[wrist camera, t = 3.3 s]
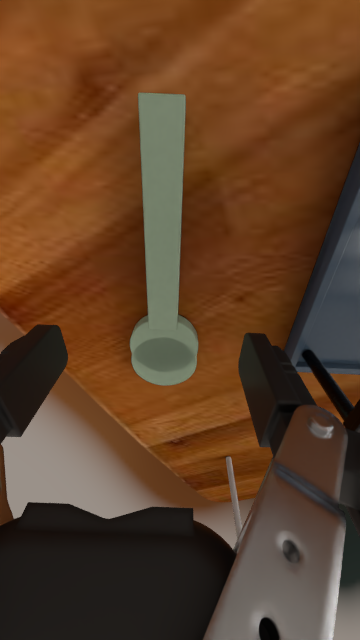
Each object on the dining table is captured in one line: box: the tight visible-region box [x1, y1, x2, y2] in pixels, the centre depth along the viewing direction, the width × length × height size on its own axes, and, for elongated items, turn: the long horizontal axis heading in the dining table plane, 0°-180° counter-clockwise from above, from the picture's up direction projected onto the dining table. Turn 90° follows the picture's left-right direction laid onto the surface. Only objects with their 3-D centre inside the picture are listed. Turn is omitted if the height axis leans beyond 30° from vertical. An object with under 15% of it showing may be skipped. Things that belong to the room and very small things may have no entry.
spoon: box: [130, 93, 198, 385], centre depth 15 cm, size 19×5×2 cm, turn 178°
